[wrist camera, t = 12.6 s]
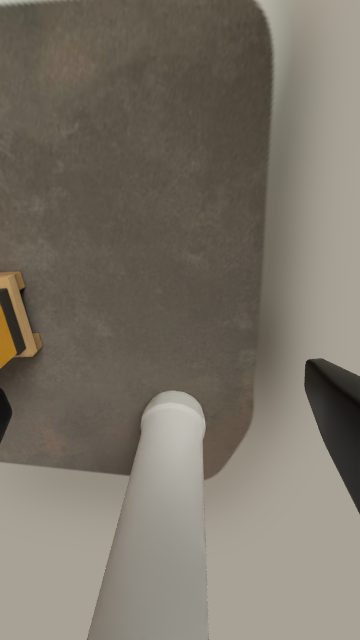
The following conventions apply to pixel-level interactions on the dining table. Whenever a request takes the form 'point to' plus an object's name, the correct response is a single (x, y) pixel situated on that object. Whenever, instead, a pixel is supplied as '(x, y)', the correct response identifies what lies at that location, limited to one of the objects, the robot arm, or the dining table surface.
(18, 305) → the thin tan notched panel
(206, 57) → the dining table surface
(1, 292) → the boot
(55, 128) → the dining table surface
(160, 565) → the bottle
